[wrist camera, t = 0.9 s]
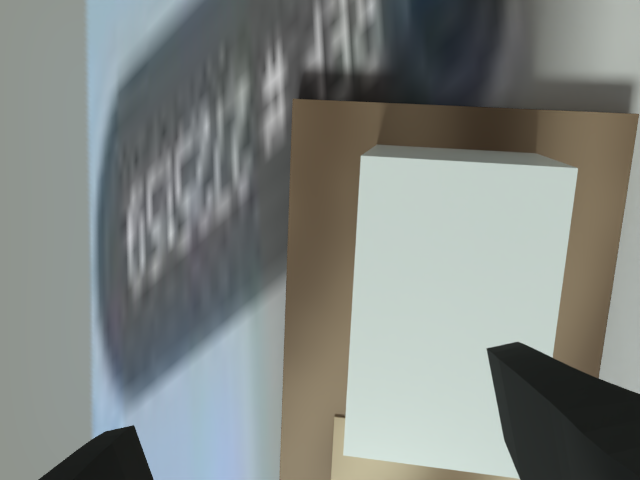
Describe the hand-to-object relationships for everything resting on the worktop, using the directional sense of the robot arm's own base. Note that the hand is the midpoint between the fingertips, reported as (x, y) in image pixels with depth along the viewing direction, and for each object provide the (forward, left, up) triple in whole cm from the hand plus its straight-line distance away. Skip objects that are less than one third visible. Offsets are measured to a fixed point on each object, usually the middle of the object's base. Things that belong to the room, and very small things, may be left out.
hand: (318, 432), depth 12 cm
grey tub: (-3, -1, -12) cm, 12 cm away
